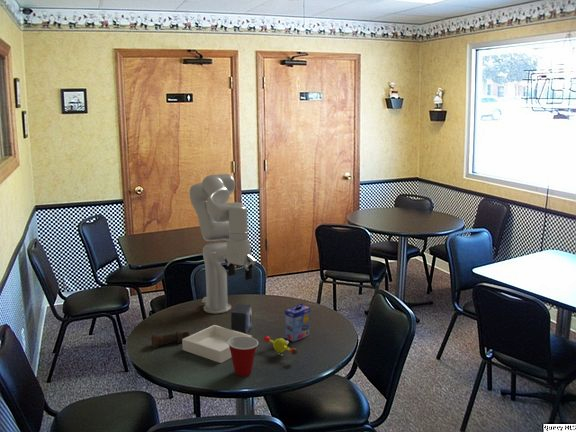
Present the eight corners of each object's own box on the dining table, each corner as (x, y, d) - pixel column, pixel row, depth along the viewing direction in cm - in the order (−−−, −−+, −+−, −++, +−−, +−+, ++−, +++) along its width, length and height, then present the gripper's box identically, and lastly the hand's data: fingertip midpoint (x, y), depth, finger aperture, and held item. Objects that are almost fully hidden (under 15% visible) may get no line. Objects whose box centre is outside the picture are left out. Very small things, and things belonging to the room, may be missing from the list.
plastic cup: (259, 379, 202) (259, 346, 200) (228, 380, 202) (227, 348, 199) (258, 365, 213) (258, 334, 211) (228, 366, 212) (227, 335, 210)
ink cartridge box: (294, 342, 233) (294, 307, 230) (284, 338, 237) (283, 304, 234) (310, 335, 240) (310, 301, 237) (300, 331, 244) (300, 298, 241)
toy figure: (302, 360, 216) (302, 343, 215) (291, 365, 213) (290, 347, 211) (271, 346, 230) (270, 329, 228) (260, 350, 226) (259, 333, 225)
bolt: (190, 345, 236) (153, 351, 229) (187, 335, 240) (150, 341, 233) (192, 335, 233) (155, 341, 226) (189, 326, 236) (152, 331, 229)
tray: (182, 350, 227) (182, 339, 226) (214, 335, 241) (214, 324, 240) (220, 363, 215) (220, 351, 214) (252, 346, 229) (251, 335, 228)
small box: (246, 337, 238) (245, 313, 236) (230, 336, 240) (230, 312, 237) (252, 327, 248) (252, 304, 246) (238, 326, 250) (237, 303, 248)
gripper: (216, 235, 238) (218, 275, 241) (247, 240, 227) (249, 283, 230) (230, 232, 244) (231, 271, 247) (260, 237, 233) (261, 278, 236)
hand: (240, 277), depth 238 cm, fingers open, 9 cm apart
